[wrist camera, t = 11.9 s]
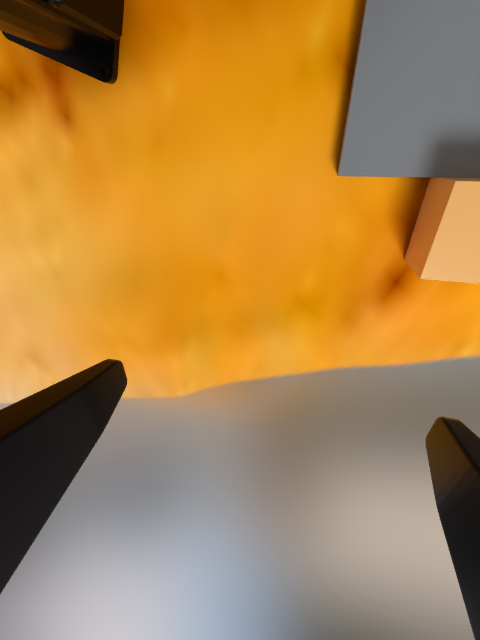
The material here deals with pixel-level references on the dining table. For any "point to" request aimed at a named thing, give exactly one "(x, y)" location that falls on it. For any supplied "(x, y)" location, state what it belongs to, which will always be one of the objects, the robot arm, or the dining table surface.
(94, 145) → the dining table surface
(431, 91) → the lid
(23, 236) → the dining table surface
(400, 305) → the dining table surface
